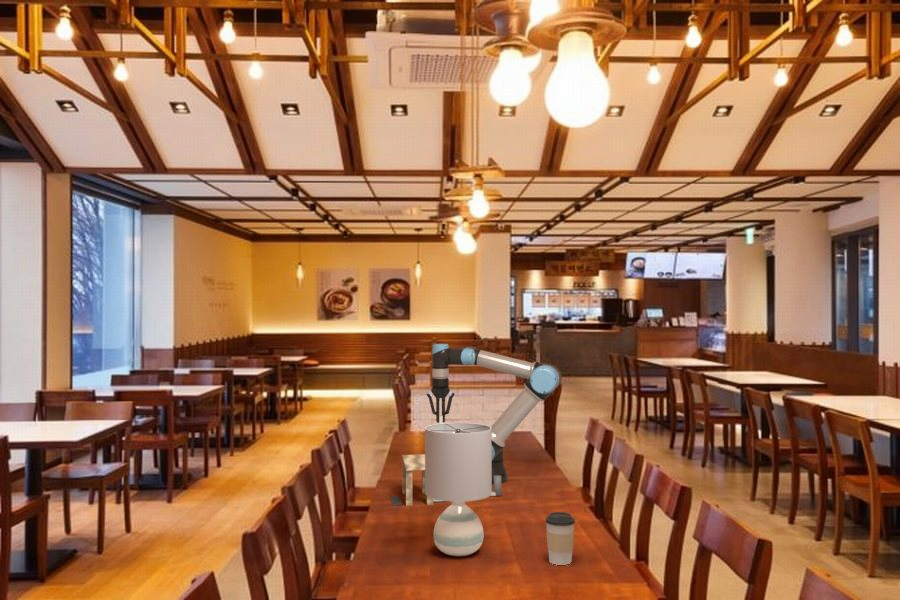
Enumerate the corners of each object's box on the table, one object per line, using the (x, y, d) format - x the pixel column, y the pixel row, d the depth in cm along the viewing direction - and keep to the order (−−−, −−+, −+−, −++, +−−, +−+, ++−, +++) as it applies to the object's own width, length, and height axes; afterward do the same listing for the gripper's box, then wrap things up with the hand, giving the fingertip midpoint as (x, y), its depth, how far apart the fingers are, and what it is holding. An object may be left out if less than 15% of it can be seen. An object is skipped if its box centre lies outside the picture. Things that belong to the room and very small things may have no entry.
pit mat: (399, 496, 308) (399, 495, 308) (402, 505, 294) (402, 504, 294) (390, 496, 308) (390, 496, 308) (392, 505, 294) (392, 505, 294)
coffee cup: (543, 557, 231) (542, 510, 232) (571, 556, 232) (570, 509, 232) (549, 567, 222) (549, 518, 223) (578, 566, 223) (578, 517, 223)
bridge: (427, 491, 317) (427, 454, 317) (433, 505, 293) (433, 465, 293) (402, 492, 315) (402, 455, 316) (406, 506, 292) (406, 466, 292)
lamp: (440, 567, 223) (440, 435, 223) (415, 546, 243) (415, 425, 243) (503, 557, 231) (503, 430, 232) (474, 538, 251) (473, 421, 252)
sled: (498, 490, 316) (498, 472, 316) (504, 498, 303) (504, 479, 303) (427, 493, 312) (426, 474, 312) (430, 501, 298) (430, 482, 298)
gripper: (453, 376, 336) (453, 428, 336) (425, 377, 334) (425, 428, 334) (455, 378, 329) (456, 430, 328) (427, 378, 327) (427, 431, 327)
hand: (440, 429), depth 331 cm, fingers closed
